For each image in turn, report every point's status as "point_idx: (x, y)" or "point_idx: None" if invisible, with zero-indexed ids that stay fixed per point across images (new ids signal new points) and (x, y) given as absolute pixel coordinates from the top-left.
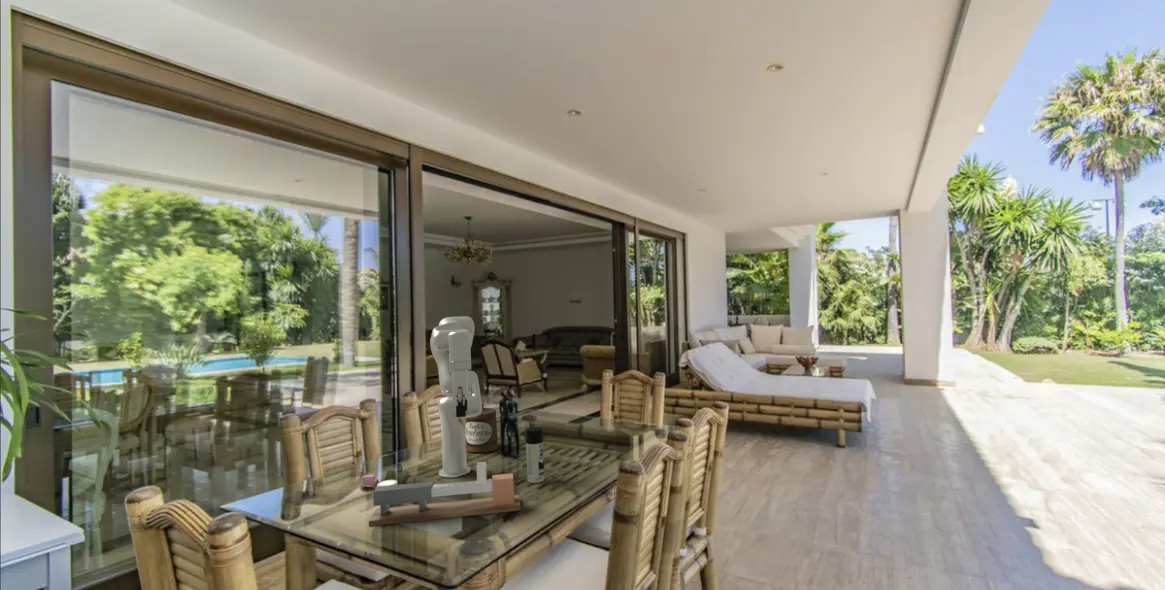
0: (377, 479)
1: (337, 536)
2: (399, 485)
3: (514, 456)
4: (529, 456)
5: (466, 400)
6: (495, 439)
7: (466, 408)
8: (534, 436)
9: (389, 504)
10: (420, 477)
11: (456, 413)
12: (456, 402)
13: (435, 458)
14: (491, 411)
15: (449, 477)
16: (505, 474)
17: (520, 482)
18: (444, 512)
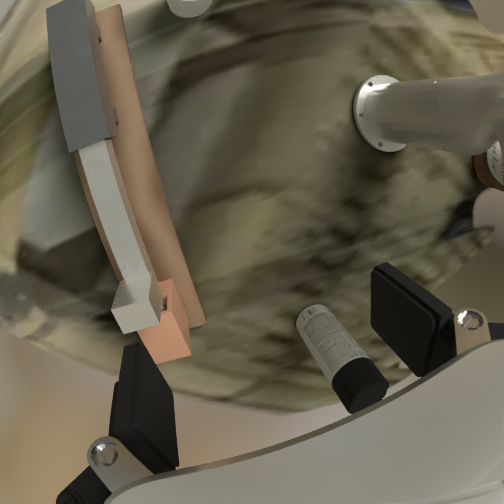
0: None
1: (22, 13)
2: (82, 47)
3: (448, 231)
4: (323, 350)
5: (422, 374)
6: (497, 188)
7: (379, 332)
8: (341, 398)
9: (171, 10)
10: (358, 35)
11: (122, 367)
12: (96, 473)
13: (455, 62)
14: None
15: (353, 105)
16: (181, 341)
17: (306, 291)
18: (88, 185)
